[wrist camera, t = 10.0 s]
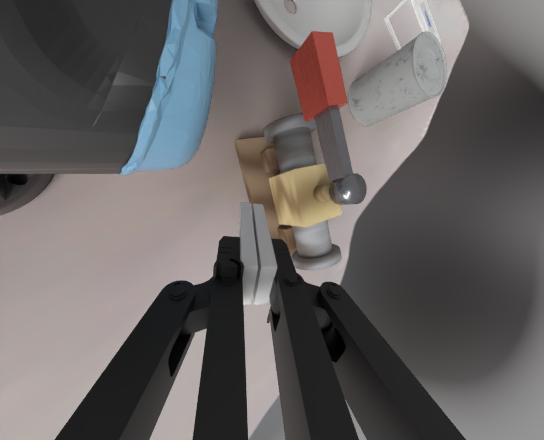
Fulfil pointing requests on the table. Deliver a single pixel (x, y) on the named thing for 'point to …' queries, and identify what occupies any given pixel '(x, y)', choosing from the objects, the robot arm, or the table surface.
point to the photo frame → (423, 18)
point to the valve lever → (327, 112)
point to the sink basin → (319, 20)
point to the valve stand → (291, 190)
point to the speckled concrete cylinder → (400, 81)
